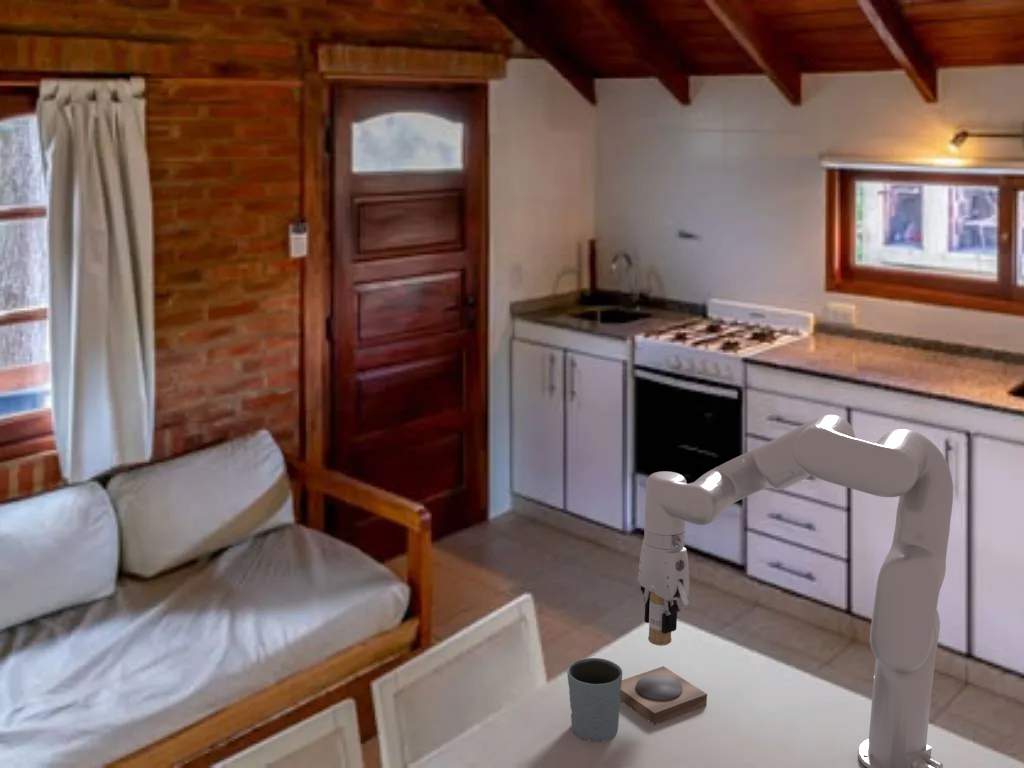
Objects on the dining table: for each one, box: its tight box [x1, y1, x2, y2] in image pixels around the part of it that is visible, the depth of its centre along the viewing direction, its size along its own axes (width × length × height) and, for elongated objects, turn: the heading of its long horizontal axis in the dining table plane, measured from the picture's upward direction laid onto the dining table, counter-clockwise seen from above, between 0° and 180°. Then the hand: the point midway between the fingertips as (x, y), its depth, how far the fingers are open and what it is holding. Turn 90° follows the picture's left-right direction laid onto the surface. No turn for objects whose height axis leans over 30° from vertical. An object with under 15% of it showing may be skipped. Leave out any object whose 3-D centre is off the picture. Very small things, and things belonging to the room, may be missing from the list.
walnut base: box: [620, 665, 708, 726], centre depth 212 cm, size 13×13×3 cm
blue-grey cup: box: [566, 657, 623, 742], centre depth 201 cm, size 10×10×12 cm
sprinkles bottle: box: [647, 585, 673, 647], centre depth 208 cm, size 5×5×14 cm
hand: (660, 625), depth 209 cm, fingers closed on sprinkles bottle, 4 cm apart
